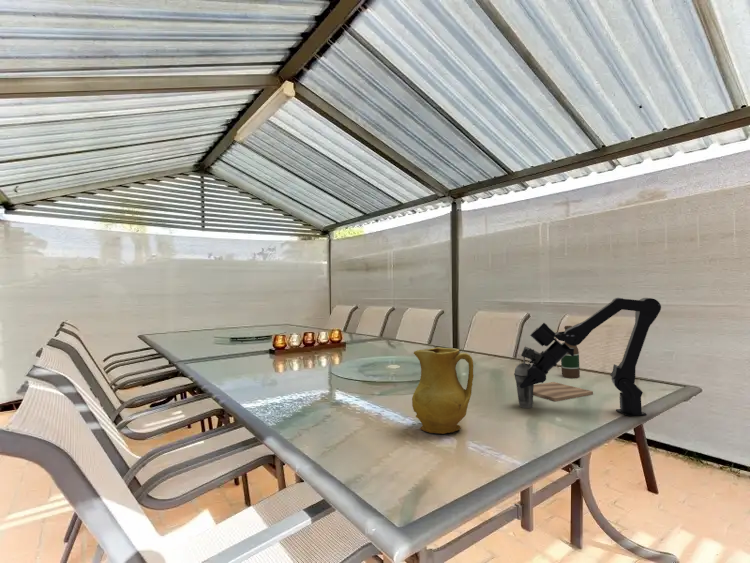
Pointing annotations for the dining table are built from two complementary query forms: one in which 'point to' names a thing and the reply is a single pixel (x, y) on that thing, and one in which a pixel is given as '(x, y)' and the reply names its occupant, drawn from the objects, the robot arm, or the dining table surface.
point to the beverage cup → (525, 393)
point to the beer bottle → (570, 362)
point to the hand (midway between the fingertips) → (520, 385)
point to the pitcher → (441, 390)
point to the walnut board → (559, 391)
